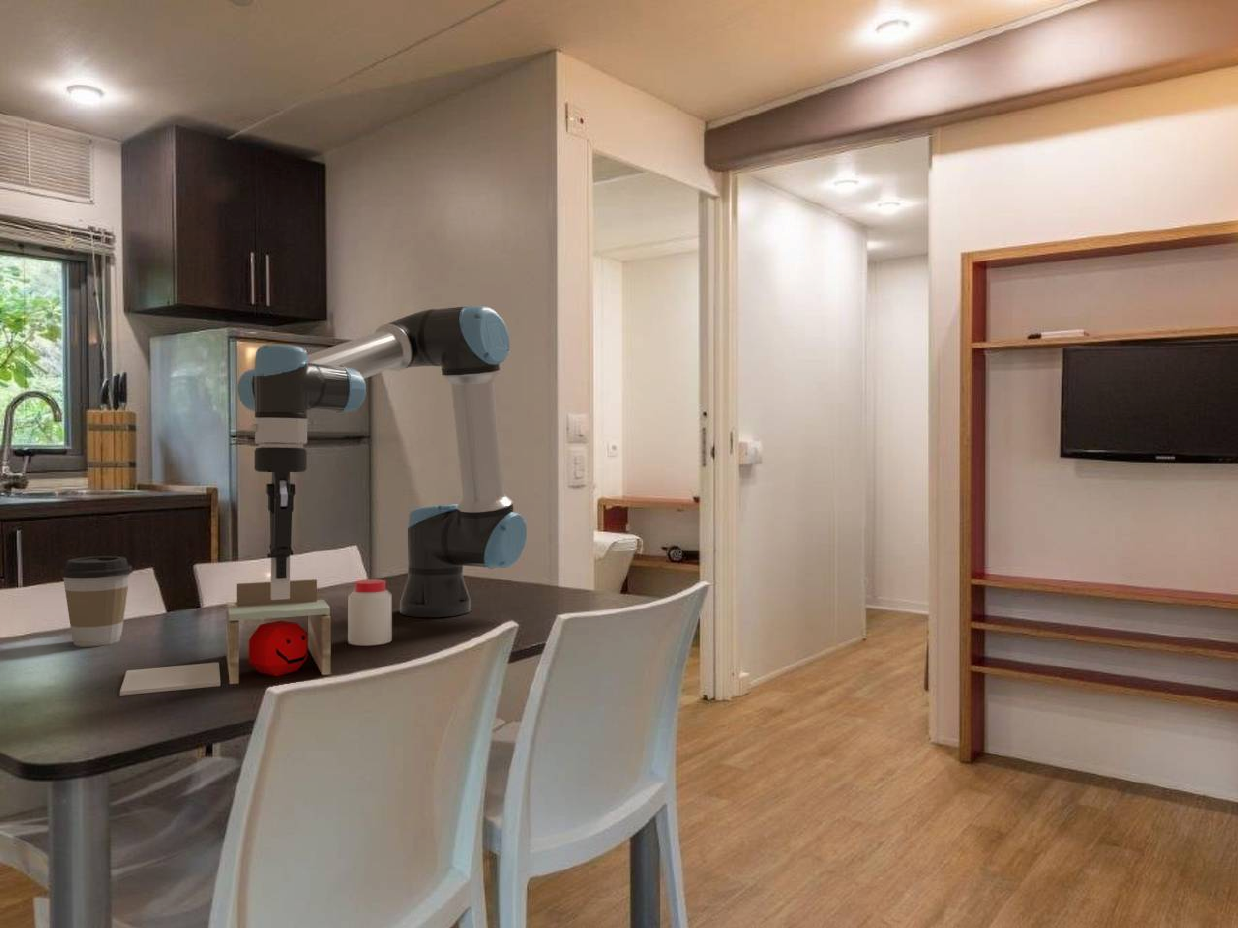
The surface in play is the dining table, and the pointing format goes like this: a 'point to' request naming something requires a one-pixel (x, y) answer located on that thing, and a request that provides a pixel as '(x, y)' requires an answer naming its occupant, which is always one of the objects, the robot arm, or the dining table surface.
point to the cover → (276, 601)
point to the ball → (278, 648)
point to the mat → (170, 678)
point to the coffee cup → (96, 598)
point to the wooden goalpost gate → (316, 643)
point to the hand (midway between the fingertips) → (280, 598)
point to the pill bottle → (370, 613)
